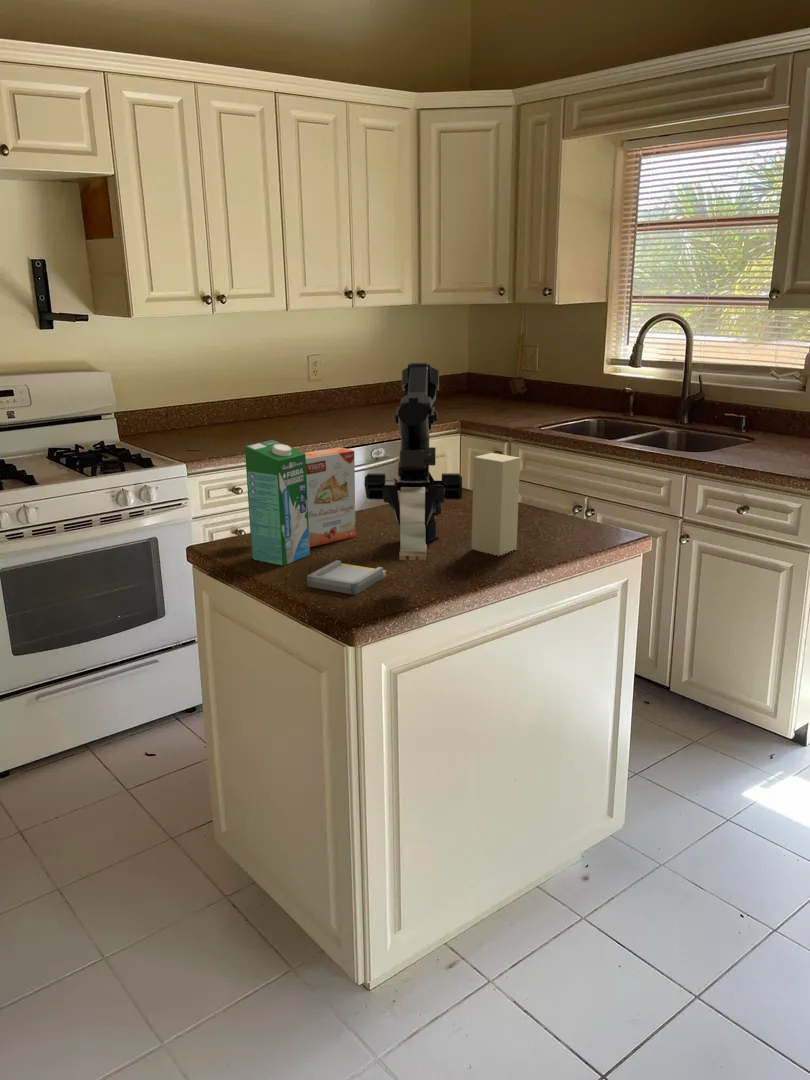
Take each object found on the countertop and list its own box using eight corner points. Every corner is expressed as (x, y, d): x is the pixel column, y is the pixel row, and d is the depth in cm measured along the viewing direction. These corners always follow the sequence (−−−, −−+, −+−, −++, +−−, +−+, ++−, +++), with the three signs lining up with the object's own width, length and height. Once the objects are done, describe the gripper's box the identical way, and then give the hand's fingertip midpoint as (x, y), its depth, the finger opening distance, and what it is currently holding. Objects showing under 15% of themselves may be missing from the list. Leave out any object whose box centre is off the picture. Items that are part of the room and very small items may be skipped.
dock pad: (340, 568, 180) (339, 558, 179) (386, 576, 175) (385, 565, 174) (307, 586, 169) (307, 575, 169) (355, 594, 164) (355, 584, 164)
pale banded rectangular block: (401, 551, 168) (400, 486, 164) (426, 551, 168) (426, 486, 164) (399, 559, 163) (398, 493, 159) (425, 559, 163) (425, 493, 159)
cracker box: (308, 549, 193) (304, 457, 187) (293, 543, 197) (289, 454, 191) (357, 537, 202) (355, 449, 196) (342, 531, 206) (339, 445, 200)
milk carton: (283, 566, 182) (277, 449, 174) (251, 559, 186) (244, 445, 179) (310, 554, 189) (305, 442, 182) (278, 548, 194) (272, 438, 186)
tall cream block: (519, 549, 191) (522, 456, 185) (499, 556, 186) (501, 461, 180) (491, 542, 196) (493, 451, 190) (471, 549, 191) (472, 456, 185)
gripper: (364, 432, 163) (359, 503, 156) (462, 431, 162) (462, 503, 155) (369, 464, 173) (364, 532, 166) (461, 464, 172) (461, 532, 164)
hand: (412, 524), depth 162 cm, fingers closed on pale banded rectangular block, 5 cm apart
